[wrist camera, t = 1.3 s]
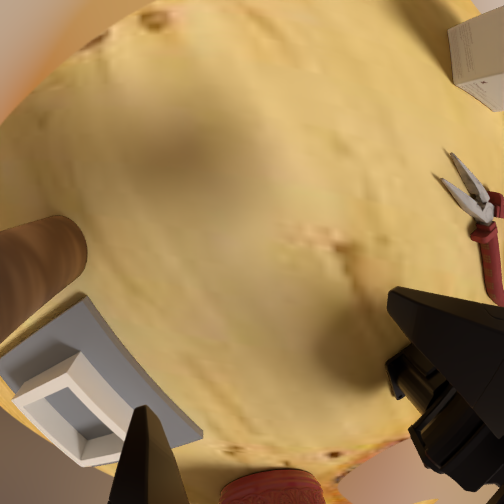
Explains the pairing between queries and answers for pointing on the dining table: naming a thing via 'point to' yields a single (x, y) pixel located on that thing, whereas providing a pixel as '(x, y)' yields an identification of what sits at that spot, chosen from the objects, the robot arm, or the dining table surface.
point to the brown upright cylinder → (37, 267)
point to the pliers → (482, 226)
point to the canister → (274, 489)
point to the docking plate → (86, 387)
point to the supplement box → (480, 57)
